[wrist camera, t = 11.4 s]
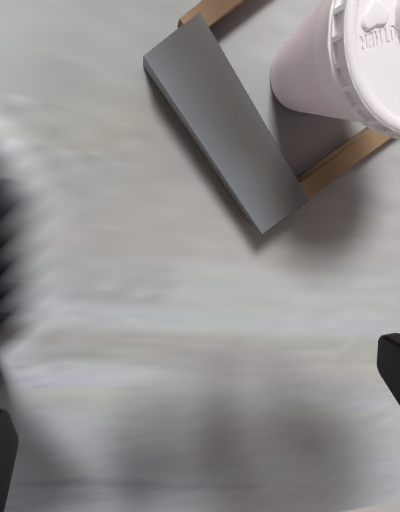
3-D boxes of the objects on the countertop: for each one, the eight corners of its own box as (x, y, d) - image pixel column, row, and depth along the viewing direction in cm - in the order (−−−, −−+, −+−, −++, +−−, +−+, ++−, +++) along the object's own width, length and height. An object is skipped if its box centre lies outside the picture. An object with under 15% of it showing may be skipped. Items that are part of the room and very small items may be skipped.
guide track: (253, 229, 21) (266, 241, 19) (136, 57, 17) (135, 44, 15) (522, 34, 20) (572, 21, 17) (460, -200, 16) (515, -256, 14)
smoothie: (320, -28, 17) (864, -528, 4) (380, 84, 20) (861, -19, 6) (220, 63, 18) (426, -128, 5) (289, 162, 20) (559, 212, 7)
